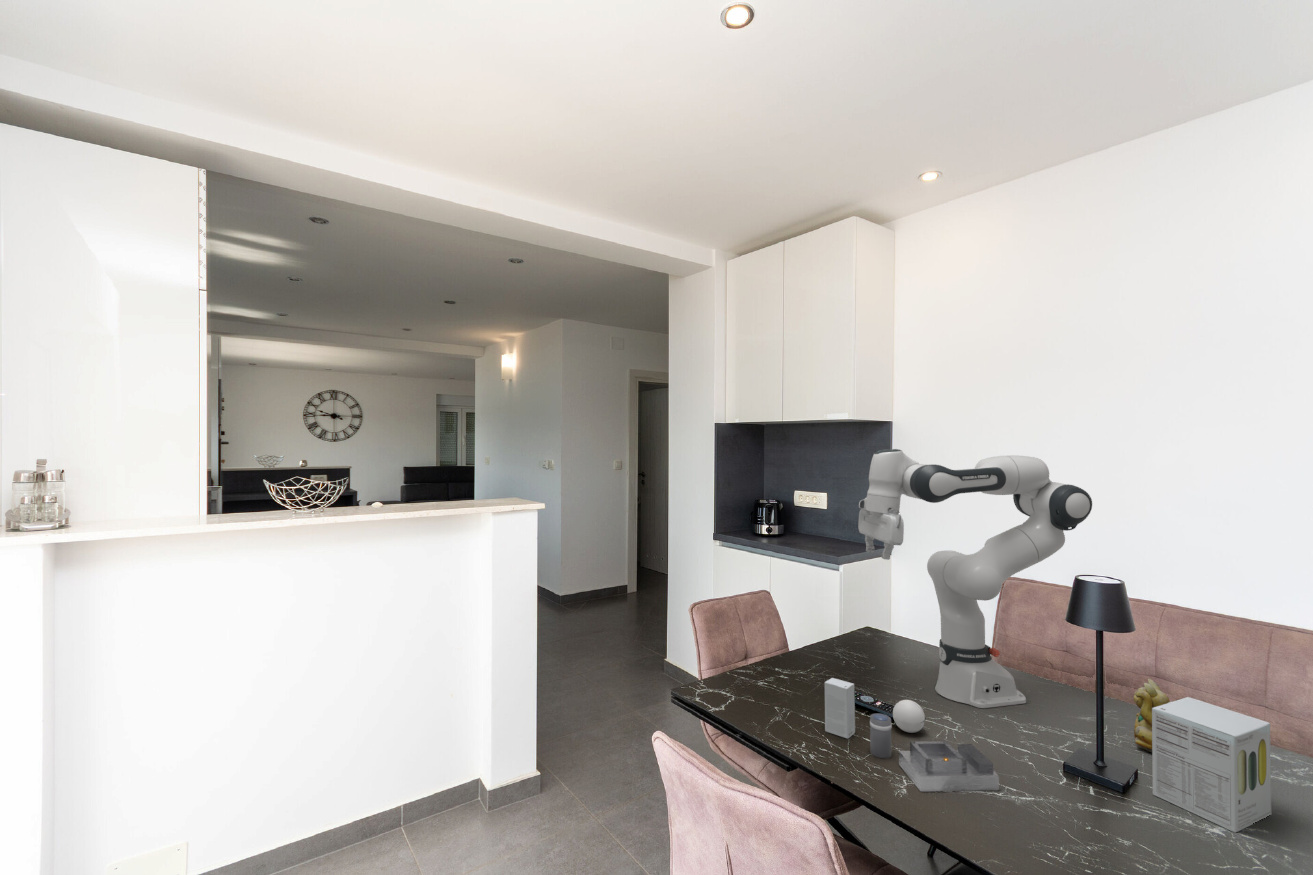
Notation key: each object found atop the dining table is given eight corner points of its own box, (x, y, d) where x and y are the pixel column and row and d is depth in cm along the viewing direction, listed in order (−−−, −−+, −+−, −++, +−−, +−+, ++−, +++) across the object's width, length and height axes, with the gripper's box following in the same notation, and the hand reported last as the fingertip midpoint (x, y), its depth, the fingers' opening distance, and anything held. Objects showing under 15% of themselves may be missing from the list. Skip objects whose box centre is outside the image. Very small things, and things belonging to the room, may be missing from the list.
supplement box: (1236, 834, 106) (1235, 736, 106) (1151, 794, 118) (1150, 706, 118) (1273, 816, 111) (1272, 722, 112) (1188, 779, 124) (1187, 695, 124)
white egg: (919, 741, 140) (919, 710, 140) (888, 731, 145) (887, 701, 145) (933, 726, 147) (933, 697, 147) (903, 717, 152) (903, 688, 152)
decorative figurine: (1136, 735, 142) (1136, 672, 143) (1182, 747, 136) (1181, 682, 137) (1130, 749, 136) (1129, 683, 136) (1178, 763, 130) (1177, 694, 130)
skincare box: (855, 733, 144) (855, 683, 144) (847, 739, 141) (847, 688, 141) (832, 725, 148) (831, 676, 148) (824, 731, 145) (823, 681, 145)
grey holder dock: (971, 763, 130) (971, 737, 130) (998, 790, 120) (998, 761, 120) (899, 764, 129) (898, 738, 130) (920, 791, 119) (920, 762, 120)
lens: (886, 747, 137) (886, 712, 137) (895, 758, 132) (894, 721, 132) (866, 748, 137) (866, 712, 137) (874, 758, 132) (874, 721, 132)
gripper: (912, 512, 156) (907, 564, 156) (876, 503, 176) (872, 549, 176) (889, 509, 155) (884, 562, 155) (856, 501, 175) (851, 547, 175)
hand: (877, 555), depth 166 cm, fingers open, 8 cm apart
